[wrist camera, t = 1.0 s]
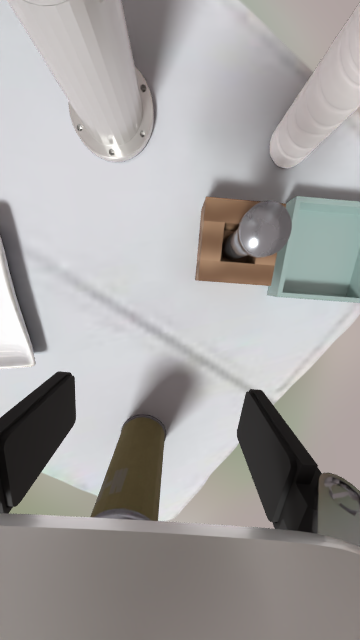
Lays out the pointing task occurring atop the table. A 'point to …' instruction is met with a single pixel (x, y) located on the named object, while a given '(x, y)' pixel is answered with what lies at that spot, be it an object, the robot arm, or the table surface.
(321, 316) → the table surface
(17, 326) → the square plate
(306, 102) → the water bottle
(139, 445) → the canister
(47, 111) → the table surface
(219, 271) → the block
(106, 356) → the table surface
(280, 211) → the steel pin
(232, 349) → the table surface
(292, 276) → the tray
